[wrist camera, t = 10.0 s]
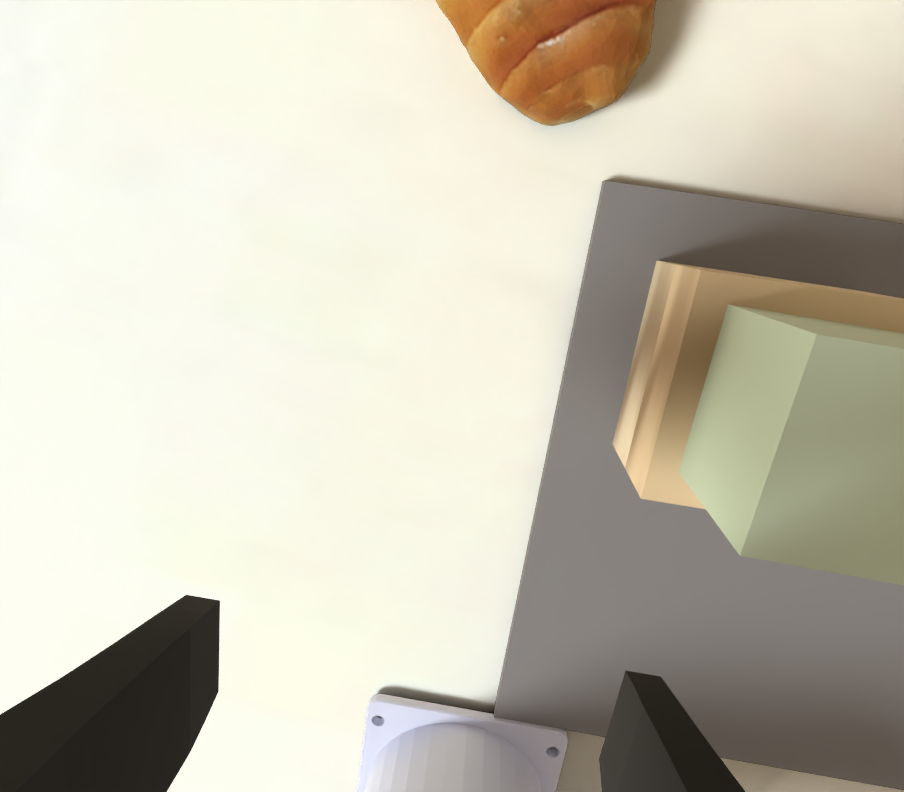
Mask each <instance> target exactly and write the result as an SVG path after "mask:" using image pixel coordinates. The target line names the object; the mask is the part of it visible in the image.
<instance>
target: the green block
mask: <svg viewBox="0 0 904 792" xmlns="http://www.w3.org/2000/svg"><path fill="white" fill-rule="evenodd" d="M678 472H679V473H680V475H681V476H682V477H683V479H684V480H685V481H686V483H687V484H688V486H689V487H690V488H691V490H692V491H693V492H694V494H695V495H696V497H697V498H698V499H699V501H700V502H701V503H702V505H703V506H704V507H705V509H706V510H707V512H708V513H709V514H710V516H711V517H712V518H713V520H714V521H715V523H716V524H717V525H718V527H719V528H720V529H721V531H722V532H723V534H724V535H725V536H726V538H727V539H728V540H729V542H730V543H731V544H732V546H733V547H734V549H735V550H736V551H737V553H738V554H739V555H740V556H743V557H748V558H754V559H760V560H765V561H771V562H776V563H782V564H787V565H793V566H799V567H804V568H810V569H815V570H821V571H827V572H832V573H838V574H843V575H849V576H855V577H860V578H866V579H871V580H877V581H883V582H888V583H894V584H899V585H904V333H900V332H893V331H887V330H881V329H875V328H869V327H863V326H857V325H851V324H845V323H839V322H833V321H827V320H821V319H815V318H809V317H803V316H797V315H791V314H785V313H779V312H773V311H767V310H761V309H755V308H749V307H742V306H736V305H730V304H728V306H727V310H726V313H725V316H724V320H723V323H722V326H721V330H720V333H719V337H718V340H717V343H716V347H715V350H714V353H713V357H712V360H711V364H710V367H709V370H708V374H707V377H706V380H705V384H704V387H703V391H702V394H701V397H700V401H699V404H698V407H697V411H696V414H695V417H694V421H693V424H692V428H691V431H690V434H689V438H688V441H687V444H686V448H685V451H684V455H683V458H682V461H681V465H680V468H679V471H678Z"/></svg>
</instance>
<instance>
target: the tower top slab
mask: <svg viewBox="0 0 904 792" xmlns="http://www.w3.org/2000/svg"><path fill="white" fill-rule="evenodd" d="M728 304H730V305H736V306H742V307H749V308H755V309H761V310H767V311H773V312H779V313H785V314H791V315H797V316H803V317H809V318H815V319H821V320H827V321H833V322H839V323H845V324H851V325H857V326H863V327H869V328H875V329H881V330H887V331H893V332H900V333H904V299H902V298H896V297H889V296H882V295H876V294H869V293H862V292H856V291H849V290H842V289H836V288H829V287H822V286H815V285H809V284H802V283H795V282H789V281H782V280H775V279H769V278H762V277H755V276H749V275H742V274H735V273H728V272H722V271H715V270H708V269H702V268H695V267H688V266H682V265H676V267H675V271H674V275H673V279H672V283H671V287H670V291H669V295H668V299H667V303H666V307H665V311H664V315H663V319H662V323H661V327H660V331H659V335H658V339H657V343H656V347H655V351H654V355H653V359H652V363H651V367H650V371H649V375H648V379H647V382H646V386H645V390H644V394H643V398H642V402H641V406H640V410H639V414H638V418H637V422H636V426H635V430H634V434H633V438H632V442H631V446H630V450H629V454H628V458H627V462H626V466H625V469H626V471H627V473H628V475H629V477H630V479H631V481H632V483H633V485H634V487H635V489H636V490H637V492H638V494H639V496H640V498H641V499H646V500H652V501H658V502H664V503H670V504H676V505H683V506H689V507H695V508H701V509H705V507H704V506H703V505H702V503H701V502H700V501H699V499H698V498H697V497H696V495H695V494H694V492H693V491H692V490H691V488H690V487H689V486H688V484H687V483H686V481H685V480H684V479H683V477H682V476H681V475H680V473H679V472H678V471H679V468H680V465H681V461H682V458H683V455H684V451H685V448H686V444H687V441H688V438H689V434H690V431H691V428H692V424H693V421H694V417H695V414H696V411H697V407H698V404H699V401H700V397H701V394H702V391H703V387H704V384H705V380H706V377H707V374H708V370H709V367H710V364H711V360H712V357H713V353H714V350H715V347H716V343H717V340H718V337H719V333H720V330H721V326H722V323H723V320H724V316H725V313H726V310H727V306H728Z"/></svg>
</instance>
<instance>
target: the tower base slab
mask: <svg viewBox="0 0 904 792" xmlns="http://www.w3.org/2000/svg"><path fill="white" fill-rule="evenodd" d="M676 265H682V266H688V267H695V268H702V269H708V270H715V271H722V272H728V273H735V274H742V275H749V276H755V277H762V278H769V279H775V280H782V281H789V282H795V283H802V284H809V285H815V286H822V287H829V288H836V289H842V290H849V291H856V292H862V293H869V292H864V291H858V290H851V289H845V288H838V287H831V286H824V285H818V284H811V283H804V282H798V281H791V280H784V279H778V278H771V277H764V276H758V275H751V274H744V273H737V272H731V271H724V270H717V269H711V268H704V267H697V266H691V265H684V264H677V263H670V262H664V261H656V265H655V269H654V273H653V277H652V281H651V286H650V290H649V294H648V298H647V302H646V306H645V310H644V315H643V319H642V323H641V327H640V331H639V335H638V340H637V344H636V348H635V352H634V356H633V360H632V365H631V369H630V373H629V377H628V381H627V385H626V389H625V394H624V398H623V402H622V406H621V410H620V414H619V419H618V423H617V427H616V431H615V435H614V439H613V446H614V448H615V450H616V452H617V454H618V456H619V458H620V460H621V462H622V464H623V465H624V467H625V466H626V462H627V458H628V454H629V450H630V446H631V442H632V438H633V434H634V430H635V426H636V422H637V418H638V414H639V410H640V406H641V402H642V398H643V394H644V390H645V386H646V382H647V379H648V375H649V371H650V367H651V363H652V359H653V355H654V351H655V347H656V343H657V339H658V335H659V331H660V327H661V323H662V319H663V315H664V311H665V307H666V303H667V299H668V295H669V291H670V287H671V283H672V279H673V275H674V271H675V267H676ZM869 294H875V293H869ZM876 295H880V294H876ZM882 296H886V295H882ZM889 297H891V296H889ZM896 298H897V297H896ZM902 299H903V298H902Z"/></svg>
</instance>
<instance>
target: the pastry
mask: <svg viewBox="0 0 904 792" xmlns="http://www.w3.org/2000/svg"><path fill="white" fill-rule="evenodd" d="M436 2H437V4H438V6H439V8H440V9H441V10H442V12H443V13H444V14H445V16H446V17H447V18H448V19H449V21H450V22H451V24H452V25H453V27H454V28H455V30H456V32H457V34H458V36H459V38H460V40H461V42H462V43H463V45H464V46H465V47H466V49H467V51H468V53H469V55H470V58H471V60H472V61H473V62H474V64H475V65H476V67H477V68H478V69H479V71H480V72H481V74H482V75H483V77H484V78H485V80H486V81H487V83H488V84H489V85H490V86H491V88H492V89H493V90H494V91H495V92H496V93H497V94H498V95H499V96H501V97H502V98H503V99H504V100H506V101H507V102H508V103H510V104H511V105H513V106H514V107H515V108H516V109H517V110H518V111H520V112H521V113H522V114H523V115H525V116H527V117H529V118H530V119H532V120H534V121H536V122H538V123H540V124H543V125H548V126H554V125H559V124H562V123H567V122H571V121H574V120H577V119H580V118H582V117H584V116H586V115H588V114H590V113H592V112H594V111H596V110H598V109H600V108H603V107H606V106H609V105H610V104H612V103H614V102H615V101H617V100H618V99H619V98H620V97H621V96H622V94H623V93H624V92H625V91H626V89H627V87H628V86H629V84H630V82H631V81H632V79H633V78H634V77H635V75H636V73H637V71H638V69H639V67H640V66H641V65H642V64H643V62H644V61H645V59H646V58H647V56H648V54H649V51H650V48H651V34H652V28H653V21H654V9H655V3H656V0H436Z"/></svg>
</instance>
